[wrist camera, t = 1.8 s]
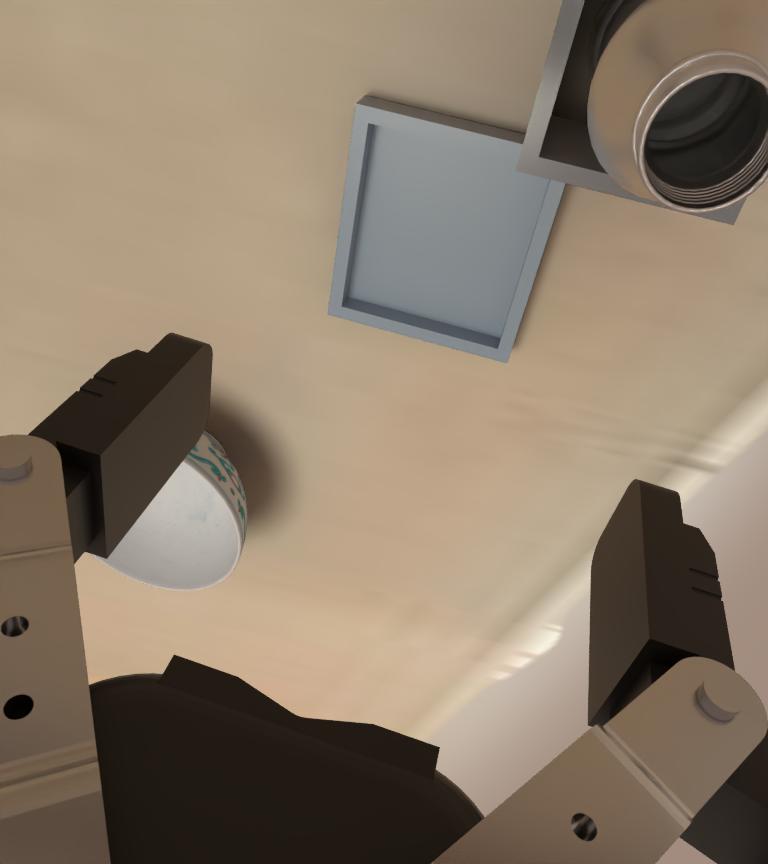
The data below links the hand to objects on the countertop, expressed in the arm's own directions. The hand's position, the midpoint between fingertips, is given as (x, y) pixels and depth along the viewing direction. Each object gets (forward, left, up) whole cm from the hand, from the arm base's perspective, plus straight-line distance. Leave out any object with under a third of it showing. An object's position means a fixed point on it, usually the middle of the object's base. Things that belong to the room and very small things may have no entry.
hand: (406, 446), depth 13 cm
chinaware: (+31, -19, -31) cm, 48 cm away
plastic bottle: (-4, +5, -31) cm, 31 cm away
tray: (+8, -3, -30) cm, 32 cm away
